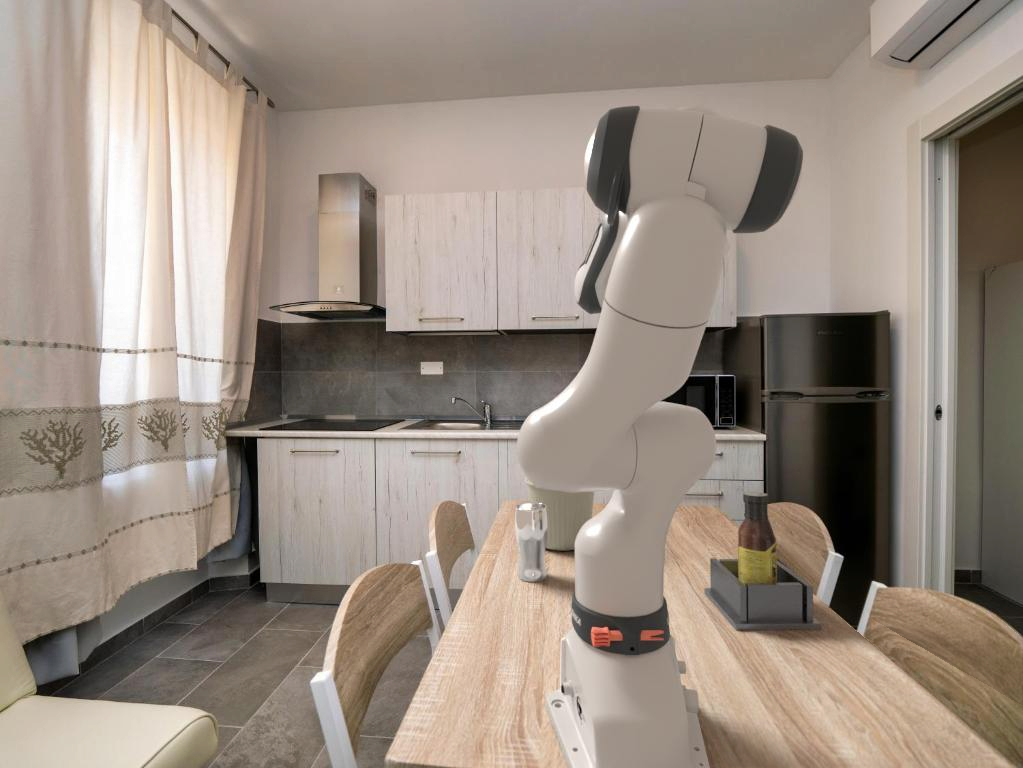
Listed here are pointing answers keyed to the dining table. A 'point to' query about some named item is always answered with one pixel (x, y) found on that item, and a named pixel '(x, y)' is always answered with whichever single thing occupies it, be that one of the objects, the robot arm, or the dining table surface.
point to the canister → (563, 514)
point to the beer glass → (531, 540)
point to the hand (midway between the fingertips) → (639, 400)
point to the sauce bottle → (756, 542)
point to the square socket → (761, 599)
